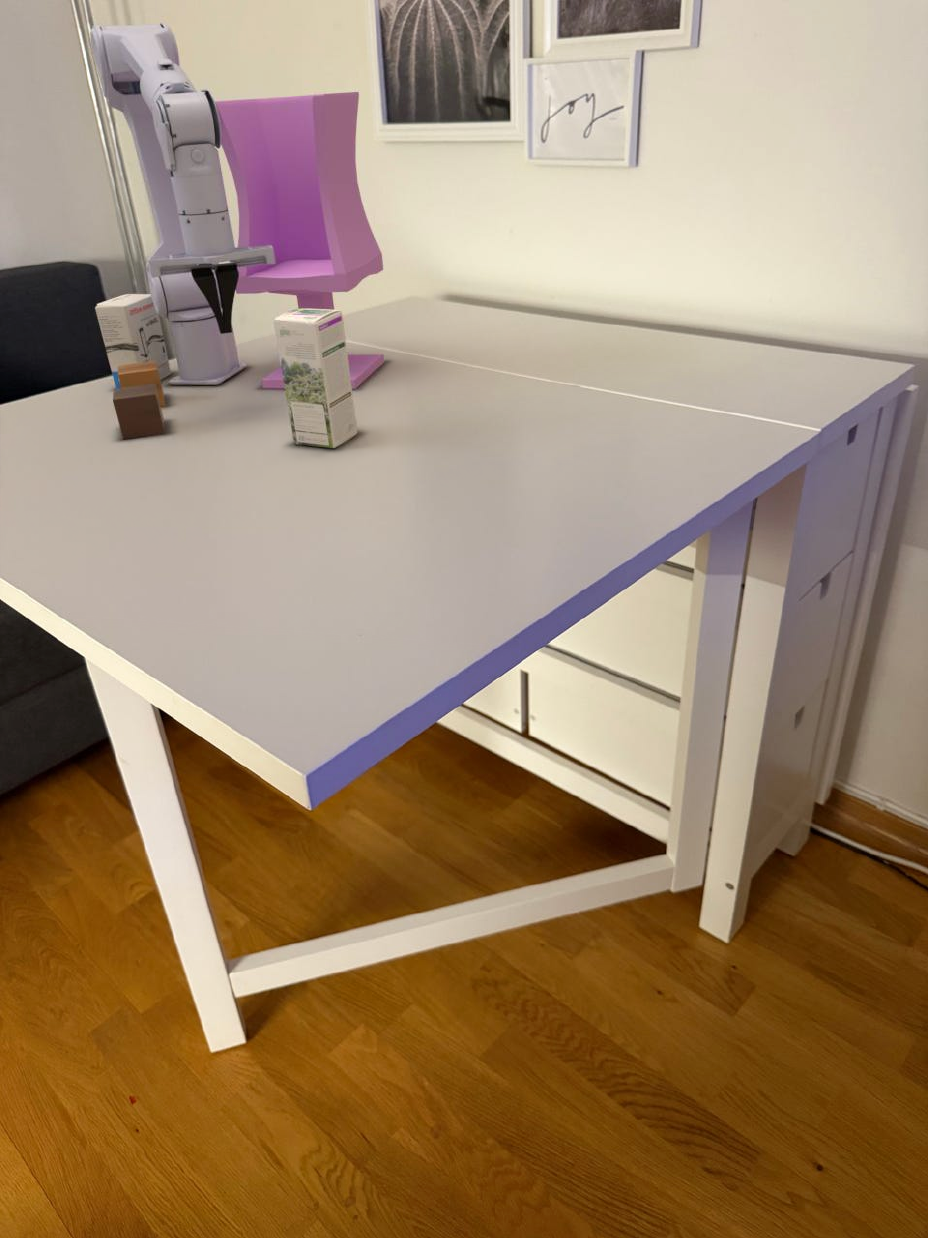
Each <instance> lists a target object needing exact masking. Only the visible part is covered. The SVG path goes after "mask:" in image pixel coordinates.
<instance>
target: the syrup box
mask: <svg viewBox="0 0 928 1238" xmlns="http://www.w3.org/2000/svg"><path fill="white" fill-rule="evenodd" d="M273 327H274V332H275V333H274V334H275V339H276V344H277V351H278V357H279V363H280V367H281V369H282V375H283V381H284V387H285V388H284V393H285V398H286V404H287V410H288V417H289V422H290V427H291V435H292V440H293V443H294V445H302V446H309V447H319V448H327V449H336V448H337V447H339V446H341V445H343V444H344V443H346V442H347V441H349V440H350V439H353V437H355V436H356V435H358V425H357V418H356V412H355V404H354V396H353V389H352V388H351V380H350V372H349V363H348V355H347V354H348V346H347V338H346V330H345V323H344V315H343V310H341V309H334V310H329V309H304V308H299V309H298V308H295V309H291V310H288V311H286V312H284V313H282V314H281V315H279V316H277V317H275V318H273Z"/></svg>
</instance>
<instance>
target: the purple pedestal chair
mask: <svg viewBox="0 0 928 1238" xmlns="http://www.w3.org/2000/svg"><path fill="white" fill-rule="evenodd" d="M359 100H360V93H359V91H349V92H348V91H347V92H334V93H333V92H332V93H318V94H317V93H315V94H307V95H294V96H293V95H292V96H280V97H279V96H277V97H263V98H249V99H232V100H214V101H215V104H216V107H217V111H218V115H219V120H220V127H221V147H222V150H223V153H224V155H225V158H226V160H227V164H228V166H229V171H230V172H231V176H232V180H233V185H234V188H235V192H236V200H237V209H238V210H237V211H238V240H237V247H255V246H267V245H271V246H272V247H273V249H274V256H275V262H276V264H271V265H267V264H262V265H252V266H243V267H237V269H238V272H239V278H238V283H237V286H236V290H235V293H236V295H244V294H245V295H247V294H249V295H251V294H252V295H253V294H263V293H268V294H278V295H289V296H296V301H297V302H296V303H297V306H298V307H297V309H299V308H304V309H329V310H335V303H334V297H333V296H334V295H333V293H349V292H350V291H352V290H354V289H355V288H356V287H357V286H358V285H359V284H360V283H361V282H362V281H363V280H364V279H366V278H368V277H369V276H372V275H377V274H379V273H381V272H383V270H384V263H383V262H384V261H383V253H382V251H381V249H380V246H379V244H378V242H377V240H376V237H375V234H374V232H373V230H372V228H371V224H370V222H369V219H368V217H367V213H366V210H365V208H364V204H363V201H362V195H361V192H360V186H359V183H358V174H357V173H358V172H357V162H356V151H357V150H356V149H357V148H356V146H357V145H356V141H357V140H356V139H357V122H358V112H359V111H358V110H359ZM347 355H348V363H349V372H350V380H351V388H352V390H356V389H357V388H358V387H359V386H360V385H361V384H362V383H364V381H366V380H367V379H368V378H369V377H370V376H371V375H372V374H374V372H376V370H377V369H379V368H380V367H381V366H382V365H383V364H384V363H385V356H384V354H383V353H347ZM261 385H262V389H285V387H284V381H283V375H282V369H281V366H279V367H278V368H276V369H275V370H274V371H272V372H271V373H269V374H268V375H266V376H265V377H264V378H262V379H261Z"/></svg>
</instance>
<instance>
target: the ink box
mask: <svg viewBox="0 0 928 1238" xmlns="http://www.w3.org/2000/svg"><path fill="white" fill-rule="evenodd" d="M94 309H95V313H96V317H97V321H98V325H99V329H100V332H101V337H102V339H103V344H104V348H105V351H106V356H107V359H108V362H109V366H110V370H111V373H112V378H113V383H114V385H115V389H118V388H121V385H120V381H119V377H118V366H119V365H126V364H134V363H142V362H149V361H156V363H157V367H158V371H159V376H160V380H161V381H162V380H164V379H165V378H167V377H168V376H170V375H172V370H171V369H172V368H171V365H170V361H169V356H168V351H167V347H166V343H165V339H164V334H163V328H162V325H161V320H160V315H159V314H158V313H157V312H156V310H155V307H154V304H153V301H152V298H151V294H150V293H146V294H145V293H125V294H122V295H119V296H116V297H113V298H110V299H107V300H105V301H102V302H98V303H96V306H95V307H94Z"/></svg>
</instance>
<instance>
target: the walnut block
mask: <svg viewBox="0 0 928 1238" xmlns="http://www.w3.org/2000/svg"><path fill="white" fill-rule="evenodd" d="M112 402H113V407H114V410H115V414H116V418H117V421H118V424H119V425H118V426H119V430H120V434H121V437H122V440H129V439H136V438H143V437H150V436H157V435H163V434H166V428H165V417H164V414H163V410H162V407H161V405H160V401H159V397H158V392H157V388H156V384H148V385H140V386H133V387H125V388H118V389H116V388H114V389H113V396H112Z"/></svg>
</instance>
